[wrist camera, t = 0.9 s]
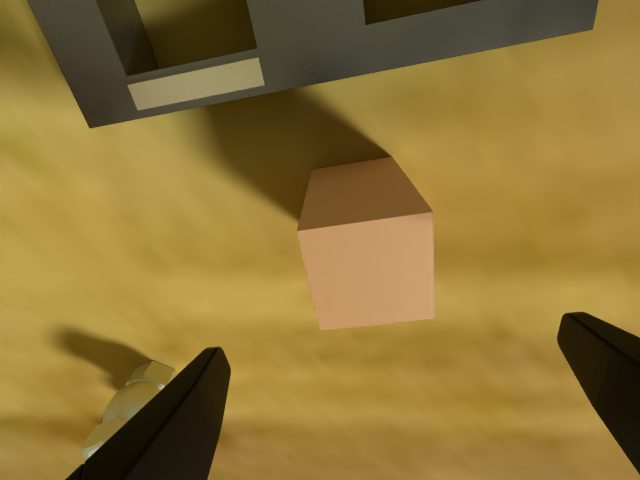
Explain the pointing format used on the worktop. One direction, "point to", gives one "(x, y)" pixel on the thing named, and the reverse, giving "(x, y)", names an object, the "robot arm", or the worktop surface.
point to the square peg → (367, 245)
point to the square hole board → (276, 48)
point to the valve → (129, 402)
